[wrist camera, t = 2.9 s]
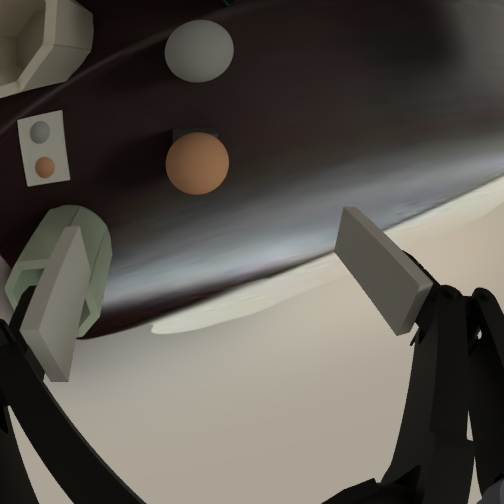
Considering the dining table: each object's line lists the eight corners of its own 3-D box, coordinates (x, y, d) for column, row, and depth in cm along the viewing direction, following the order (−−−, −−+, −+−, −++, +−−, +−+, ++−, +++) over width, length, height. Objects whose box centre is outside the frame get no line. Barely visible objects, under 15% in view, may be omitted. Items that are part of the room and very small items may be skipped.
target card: (18, 119, 22) (16, 120, 21) (62, 110, 23) (60, 110, 23) (28, 185, 26) (27, 187, 25) (70, 178, 27) (69, 180, 26)
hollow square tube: (172, 128, 27) (172, 135, 24) (213, 127, 28) (217, 133, 25) (173, 167, 29) (174, 177, 27) (213, 165, 30) (217, 175, 27)
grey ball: (166, 25, 19) (165, 15, 15) (229, 25, 20) (241, 16, 16) (165, 82, 22) (162, 85, 18) (226, 80, 23) (237, 84, 19)
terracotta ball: (165, 128, 24) (163, 142, 20) (224, 126, 25) (235, 139, 21) (167, 183, 27) (167, 207, 23) (223, 180, 28) (232, 202, 24)
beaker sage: (31, 209, 27) (-7, 264, 19) (104, 200, 29) (81, 255, 21) (51, 275, 32) (28, 337, 24) (117, 270, 34) (107, 335, 26)
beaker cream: (14, 13, 16) (-42, 4, 7) (96, -9, 17) (62, -39, 9) (13, 94, 20) (-44, 114, 12) (93, 76, 22) (55, 83, 14)
